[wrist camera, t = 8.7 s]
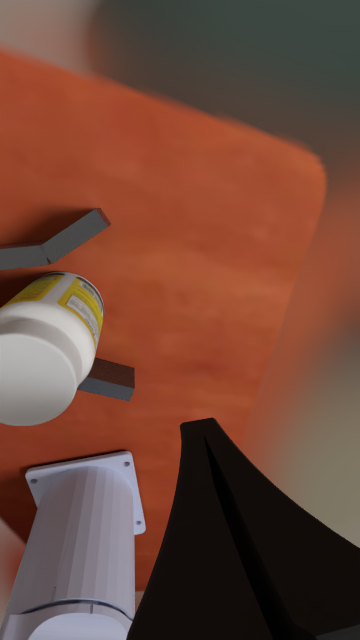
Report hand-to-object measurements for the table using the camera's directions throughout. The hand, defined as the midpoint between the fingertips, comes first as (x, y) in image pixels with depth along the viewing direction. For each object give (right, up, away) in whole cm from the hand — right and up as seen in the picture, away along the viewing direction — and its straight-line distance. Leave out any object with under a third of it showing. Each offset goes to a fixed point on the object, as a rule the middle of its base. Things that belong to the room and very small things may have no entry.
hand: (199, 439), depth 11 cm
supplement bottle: (-8, +6, +7) cm, 12 cm away
